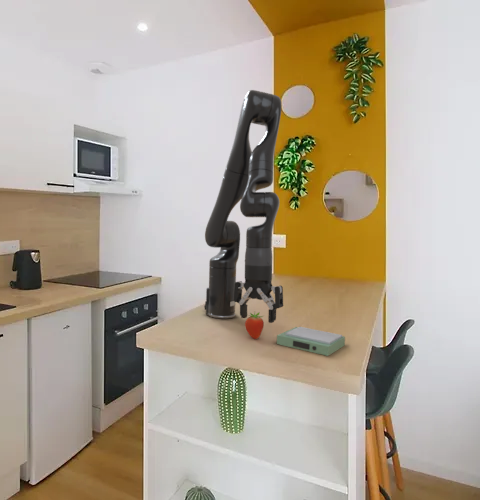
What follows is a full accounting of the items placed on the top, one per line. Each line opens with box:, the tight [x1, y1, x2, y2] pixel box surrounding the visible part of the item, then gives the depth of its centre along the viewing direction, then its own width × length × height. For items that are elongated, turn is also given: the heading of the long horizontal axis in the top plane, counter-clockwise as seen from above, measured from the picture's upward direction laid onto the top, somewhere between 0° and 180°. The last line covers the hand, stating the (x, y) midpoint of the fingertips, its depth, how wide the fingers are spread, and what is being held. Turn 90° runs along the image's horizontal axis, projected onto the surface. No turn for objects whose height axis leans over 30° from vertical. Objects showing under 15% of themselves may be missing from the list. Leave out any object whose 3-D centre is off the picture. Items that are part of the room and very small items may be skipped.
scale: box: [276, 326, 346, 357], centre depth 114 cm, size 14×12×3 cm
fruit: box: [244, 312, 265, 340], centre depth 119 cm, size 5×5×8 cm
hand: (257, 319), depth 119 cm, fingers open, 8 cm apart
